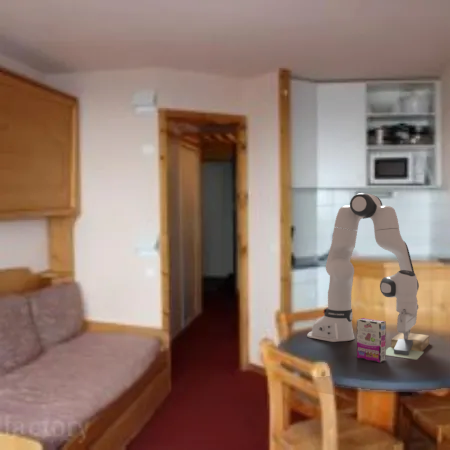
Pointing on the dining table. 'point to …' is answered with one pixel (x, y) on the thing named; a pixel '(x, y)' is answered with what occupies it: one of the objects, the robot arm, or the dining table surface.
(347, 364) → the dining table surface
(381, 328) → the candy bar box
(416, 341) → the square wooden plank
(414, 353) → the mat
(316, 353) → the dining table surface
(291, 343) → the dining table surface
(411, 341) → the grey flat block
